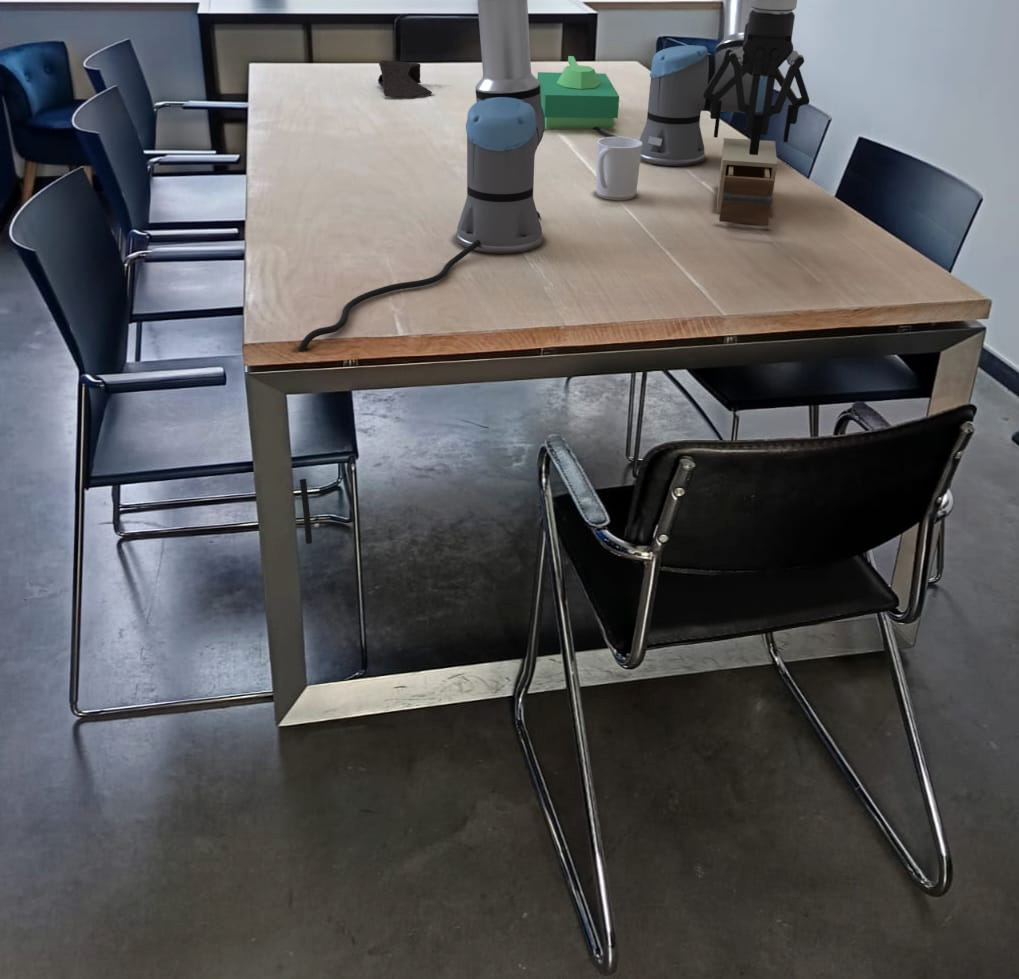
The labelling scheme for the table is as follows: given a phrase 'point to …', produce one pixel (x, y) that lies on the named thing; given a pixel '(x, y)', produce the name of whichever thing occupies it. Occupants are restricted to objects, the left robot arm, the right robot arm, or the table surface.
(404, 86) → the axe head
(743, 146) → the cabinet
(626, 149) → the mug
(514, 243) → the left robot arm
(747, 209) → the drawer
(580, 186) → the table surface
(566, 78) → the toy tank
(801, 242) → the table surface
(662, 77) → the right robot arm
